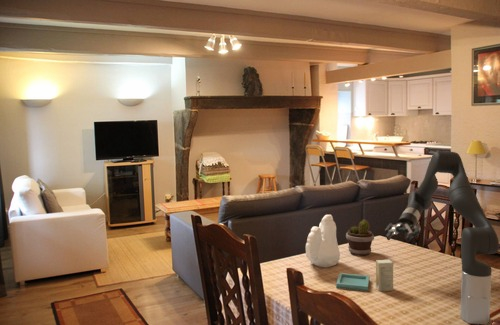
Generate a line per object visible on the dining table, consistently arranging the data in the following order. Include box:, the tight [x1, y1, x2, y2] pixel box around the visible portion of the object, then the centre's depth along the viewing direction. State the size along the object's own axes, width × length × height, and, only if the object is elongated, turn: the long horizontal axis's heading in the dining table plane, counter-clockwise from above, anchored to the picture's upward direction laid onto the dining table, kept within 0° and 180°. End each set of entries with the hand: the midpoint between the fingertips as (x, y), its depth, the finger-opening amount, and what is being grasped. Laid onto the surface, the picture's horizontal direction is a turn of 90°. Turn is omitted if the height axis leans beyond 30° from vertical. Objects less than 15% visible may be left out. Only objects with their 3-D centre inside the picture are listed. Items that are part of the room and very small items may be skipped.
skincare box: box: [375, 259, 394, 292], centre depth 178 cm, size 6×4×12 cm
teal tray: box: [335, 272, 370, 292], centre depth 184 cm, size 13×13×2 cm
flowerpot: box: [345, 218, 375, 256], centre depth 226 cm, size 14×15×20 cm
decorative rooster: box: [305, 214, 341, 268], centre depth 207 cm, size 25×16×25 cm, turn 130°
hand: (397, 239), depth 183 cm, fingers open, 8 cm apart
